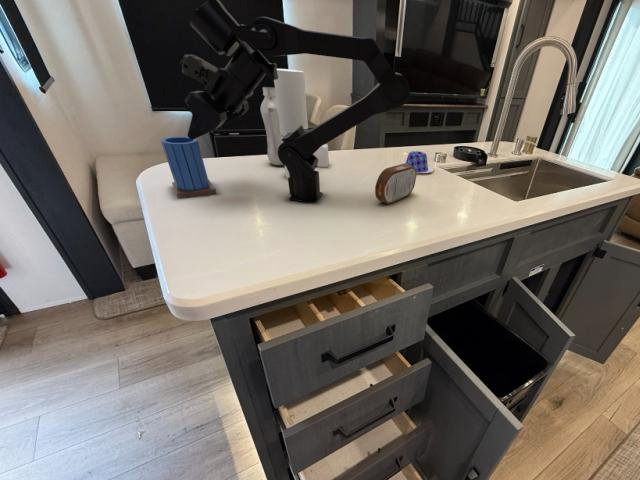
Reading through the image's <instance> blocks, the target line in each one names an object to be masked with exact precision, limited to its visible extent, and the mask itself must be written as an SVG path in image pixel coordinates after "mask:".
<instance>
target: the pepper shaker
mask: <svg viewBox="0 0 640 480" xmlns="http://www.w3.org/2000/svg"><path fill="white" fill-rule="evenodd" d="M314 155H315V156H316V158H317V159H318V164H317V167H316V168H327V167H328V166H329V164H330V158H329V144H328V143H326V144H325V145H323V146H321V147H320V148H319V149H318V150H317V151H316V152H315V153H314Z"/></svg>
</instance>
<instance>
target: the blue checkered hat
mask: <svg viewBox="0 0 640 480" xmlns="http://www.w3.org/2000/svg"><path fill="white" fill-rule="evenodd" d="M404 163H406V164H408V165H410V166H412V167H414V168H415V169H416V172H417V174H428V173H432V172H433V171H434V170H435V168H434V167H433V166H432V165H429V164H428V156H427V153H425V152H423V151H418V150H416V151H415V150H412V151H410V152H408V155H407V158H406V160H405V162H401V163H399V164H398V165H400V164H404Z"/></svg>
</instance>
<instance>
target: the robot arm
mask: <svg viewBox="0 0 640 480" xmlns="http://www.w3.org/2000/svg"><path fill="white" fill-rule="evenodd" d="M189 24H190V27H192V29H193V30H194V31H195V32H196V33H197V34H198V35H199V36H200V38H202V39H203V40H204V41H205V42H206V43H207V44H208V45H209V46H210V47H211V48H212V49H213V51H214V52H215V53H217V54H218V55H219V56H222V55H225V56H227V57H230V56H232V55H233V54H234V55H233V56H232V58H231V59H230V60H229V61H228V62H227V64H226V65H225V67H223V68H222V67H219V68H218V67H217V66H215V65H213V64H211V63H209V62H208V61H206V60H205V59H203V58H201V57H199V56H198V55H195V54H184V55H183V57H182V59H181V60H180V61H179V64H180V66H181V67H182V70H181V73H182V74H183V75H185V76H186V77H190V78H192V79H194V80H196V81H198V82H200V83H201V84H203V85H204V87H203V89H204V91H203V90H195V91H191V92H189V93H188V95H187V96H186V98H185V99H184V102H185V104H186V105H187V108H189V109H190V112H191V119H190V125H189V128H188V131H187V134H186V135H187V136H186V137H189V138H190V139H191V140H193V139H197V138H198V139H199V137H201V136H202V137H203V136H204V135H207V134H208V133H211V132H213V131H216V130H217V129H219V128H221V127H222V126H225V125H227V124H228V123H231V122H233V121H235V120H237V119H239V118H241V117H242V116H244V115H245V114H246V113H247V112H248V110H249V109H250V106H249V101H247V100H248V98H250V97H253V95H254V94H255V92H254V91H255V89H256V88H257V87H258V85H259V84H260V83H261V82H262V80H263V79H264V78H265V76H267V77H268V78H269V79H270V80H271V81H274V80H276V79H278V74H277V69H278V64H277V63H275V62H274V63H271V62H270V61H269V60H268V59H267V58H266V57H283V56H294V55H305V54H307V55H312V56H313V55H314V56H322V57H329V58H338V59H345V60H353V61H362V62H364V64H365V65H366V67H368V69H369V71H370V72H371V74H372V75H373V77H374V78H375V79H376V81H377V82H378V83H377V84H376V85H375V86H374V87H373V88H372V89H371V90H370V91H368V93H367V94H366V95H365V96H363V97H361V98H360V99H358V100H357V101H355V102H354V103H352V104H350V105H349V106H347V107H345V108H344V109H342V110H340V111H339V112H337V113H336V114H334V115H333V116H331V117H329V118H328V119H326V120H325V121H323V122H322V123H320V124H318V125H317V126H315V127H313V128H311V129H308V130H306V131H304V129H303V126H302V125H301V126H300V127H299V128H298V129H297V130H295V131H294V132H292V133H288V134H286V135H285V136H284V137H283V138H282V139H281V140H282V141H283V143H282V144H281V145H280V146H279V147H278V157H279V159H280V161H281V162H282V163H283V165H282V166H284V167H285V166H286V167H287V169H288V172H289V175H290V177H289V178H287V183H288V191H289V192H288V193H289V195H290V196H289V201H296V202H303V203H311V204H312V203H313V204H315V203H317V202H318V201H319V200H320V198H321V197H322V196H323V192H322V191H321V185H320V171H318V170H316V168H318V167H317V164H318V159H317V158H316V156H315V155H314V153H315V152H316V151H317V150H318V149H319V148H320V147H321V146H323V145H325V144H328V143H330V142H331V141H333V140H335V139H336V138H338V137H339V136H341V135H343V134H344V133H346V132H348V131H349V130H351V129H353V128H355V127H356V126H358V125H359V124H361V123H363V122H365V121H366V120H368V119H370V118H371V117H374V116H376V115H379V114H383V113H386V112H390V111H392V110H395V109H399V108H401V107H403V106H404V105H405V104H407V102H408V101H409V98H410V96H411V86H410V83H409V81H408V79H407V78H406V77H405V76H404V75H402V73H399V72H396V71H395V70H394V69H393V67H392V66H391V64H390V63H389V61H388V59H386V57H385V56H384V54H383V52H382V51H381V50H380V48H379V45H378V43H377V42H376V40H375V39H374V38H373V37H370V36H365V37H360V36H353V35H345V34H338V33H330V32H323V31H315V30H307V29H303V28H300V27H297V26H295V25H292V24H288V23H287V22H284V21H280V20H277V19H274V18H271V17H269V16H258V17H256V18H255V20H254V21H253V22H252V24H242V23H240V24H239V23H238V22H237V20H236V19H235V18H234V17H233V15H232V14H230V12H229V11H228V10H227V8H225V6H224V4H223V3H222V2H221V1H220V0H207V1H205V2H204V3H202V4H201V5H200V6H199V7H198V8H195V9H194V11H193V12H192V15H191V17H190V21H189ZM249 44H250V45H253V46H255V48H256V49H255V50H253V49H252V47H251V46H249ZM206 91H207V92H208V93H207V92H206ZM209 94H211V96H210V95H209Z"/></svg>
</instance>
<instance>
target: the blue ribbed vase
mask: <svg viewBox="0 0 640 480" xmlns="http://www.w3.org/2000/svg"><path fill="white" fill-rule="evenodd" d="M160 142H161V145H162V149H163V152H164V155H165V157H166V161H167V163H168V167H169V169H170V173H171V177H172V179H173V182H175V185H176V187H177V188H178V189H180V190H187V191H194V190H200V189H204V188H207V187H208V186H209V181H208V179H209V178H208V177H209V176H208V173H207V169H206V166H205V162H204V158H203V154H202V151H201V147H200V144H199V140H198V139H197V138H196V139H193V140H191V139H190V138H189V137H188V136H169V137H164V138H162V139H160Z"/></svg>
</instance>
